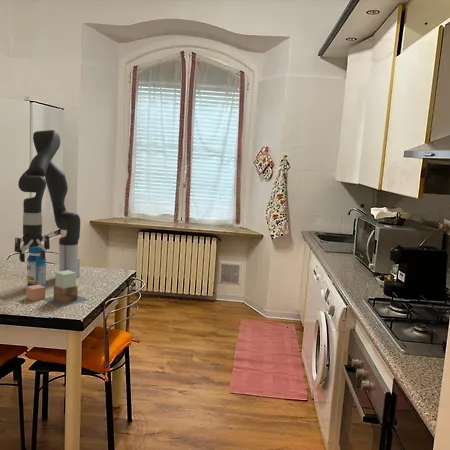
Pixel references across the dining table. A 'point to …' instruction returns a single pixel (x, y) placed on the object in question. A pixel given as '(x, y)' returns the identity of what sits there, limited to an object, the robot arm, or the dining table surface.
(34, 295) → the terracotta cube
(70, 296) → the walnut block
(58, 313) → the dining table surface
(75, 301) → the slate mat
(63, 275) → the sage block
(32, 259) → the beverage bottle
